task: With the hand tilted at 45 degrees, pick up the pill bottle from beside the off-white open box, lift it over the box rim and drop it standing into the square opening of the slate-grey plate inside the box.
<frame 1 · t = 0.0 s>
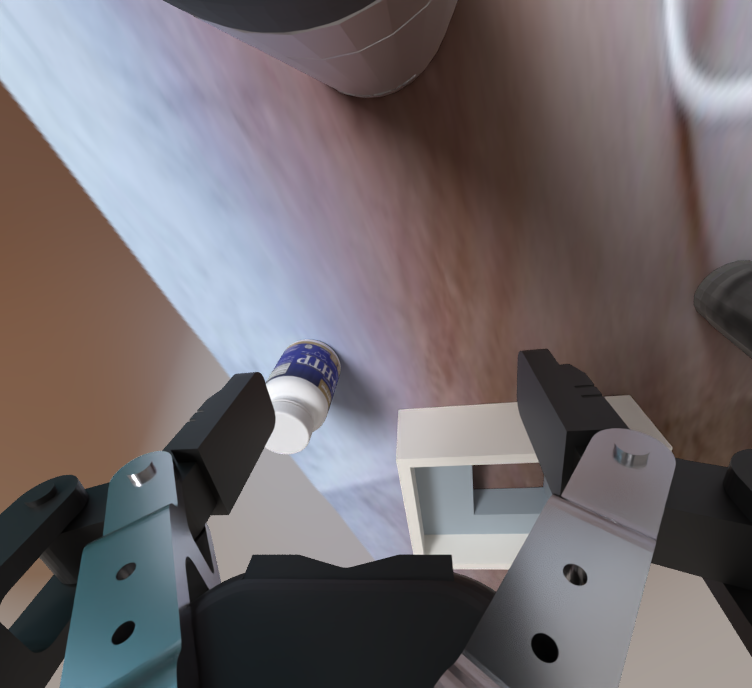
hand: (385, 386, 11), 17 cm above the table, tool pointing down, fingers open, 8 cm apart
bore box: (506, 464, 37), on the table
beverage cup: (727, 290, 26), on the table
pill bottle: (312, 361, 32), on the table
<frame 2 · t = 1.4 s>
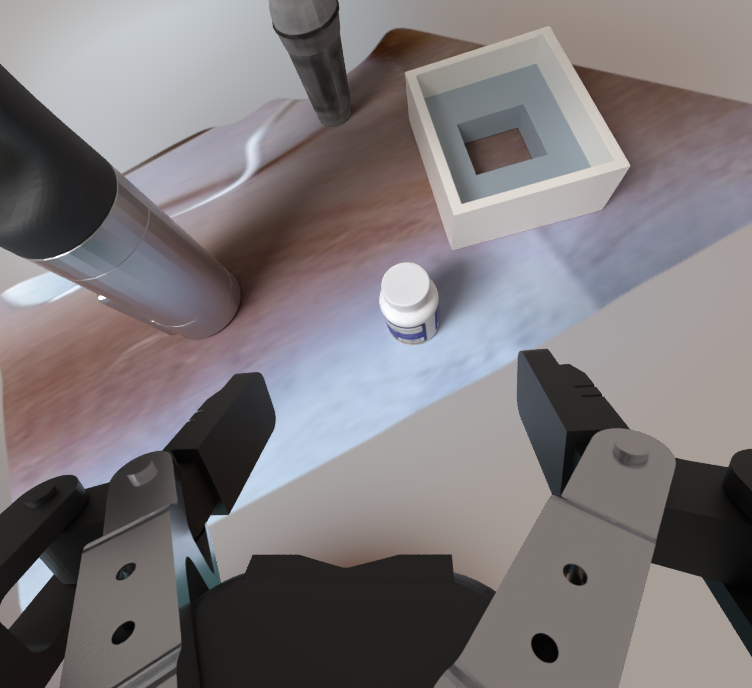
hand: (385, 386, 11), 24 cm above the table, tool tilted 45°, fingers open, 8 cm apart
bore box: (496, 160, 42), on the table
beverage cup: (335, 114, 49), on the table
pill bottle: (413, 323, 38), on the table
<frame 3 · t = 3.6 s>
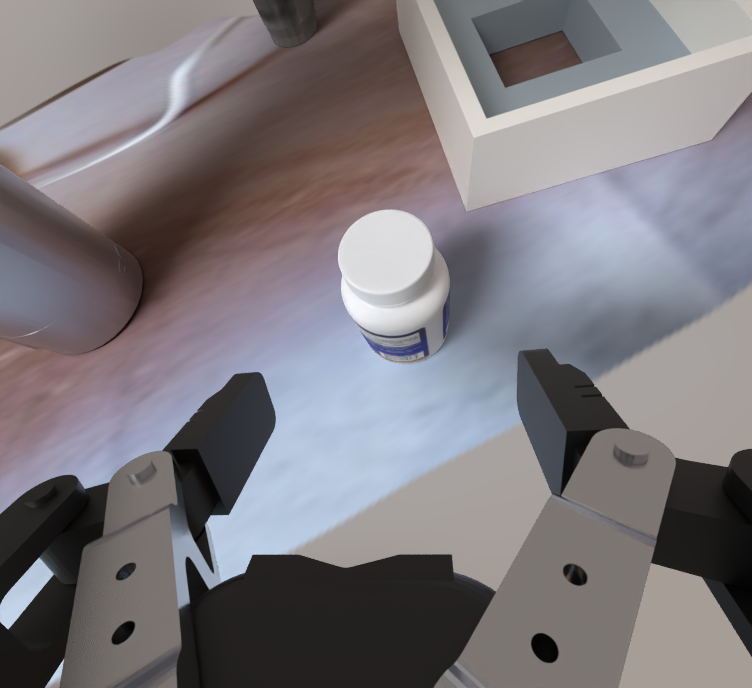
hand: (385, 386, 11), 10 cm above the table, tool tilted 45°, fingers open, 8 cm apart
bore box: (531, 77, 27), on the table
beverage cup: (295, 32, 34), on the table
pill bottle: (406, 327, 23), on the table
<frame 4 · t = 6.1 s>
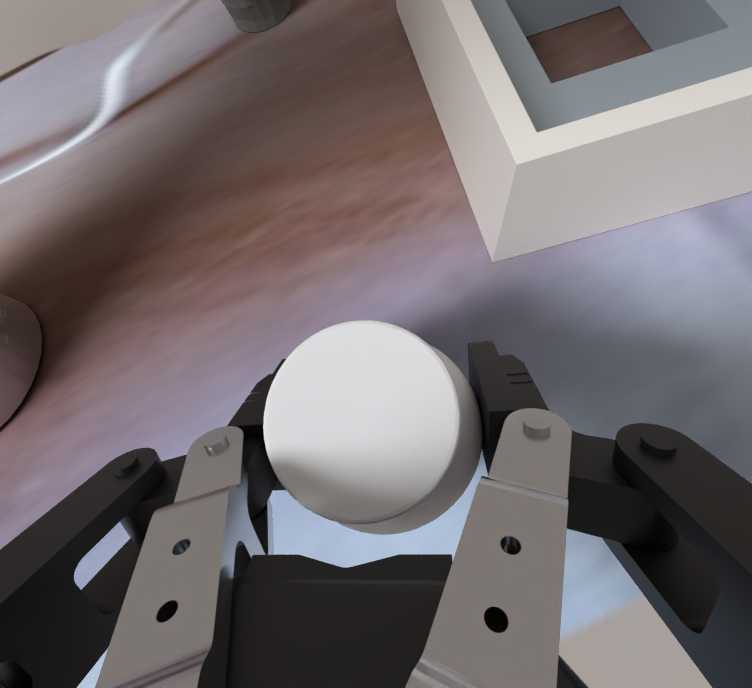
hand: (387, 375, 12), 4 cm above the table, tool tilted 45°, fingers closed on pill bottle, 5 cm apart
bore box: (579, 69, 20), on the table
beverage cup: (264, 14, 27), on the table
pill bottle: (404, 440, 15), on the table, touching gripper
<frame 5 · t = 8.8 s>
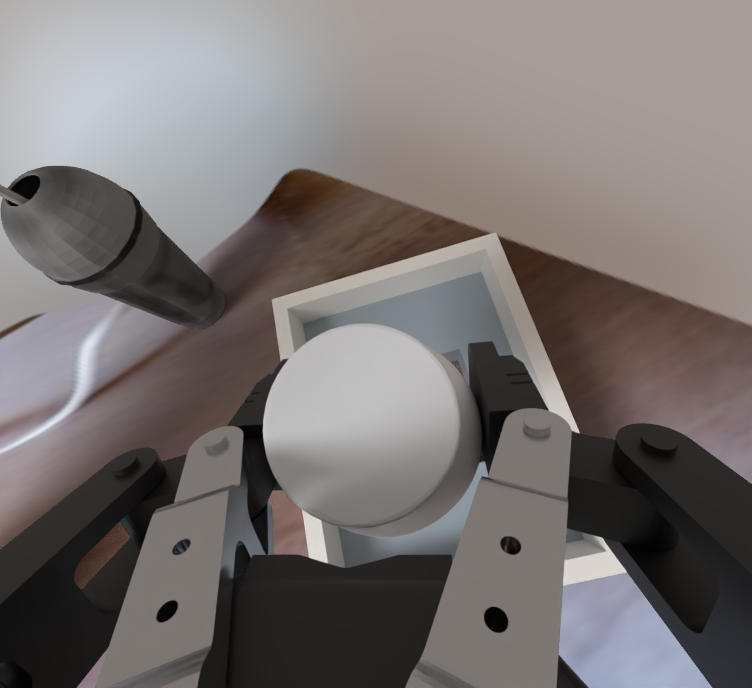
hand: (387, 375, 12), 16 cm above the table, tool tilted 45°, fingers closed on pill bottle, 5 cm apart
bore box: (424, 419, 27), on the table
beverage cup: (204, 307, 34), on the table
pill bottle: (404, 442, 15), point 12 cm above the table, touching gripper
when the fingers open (8 cm above the table, at t = 11.6 s): pill bottle drops 4 cm, resting in bore box.
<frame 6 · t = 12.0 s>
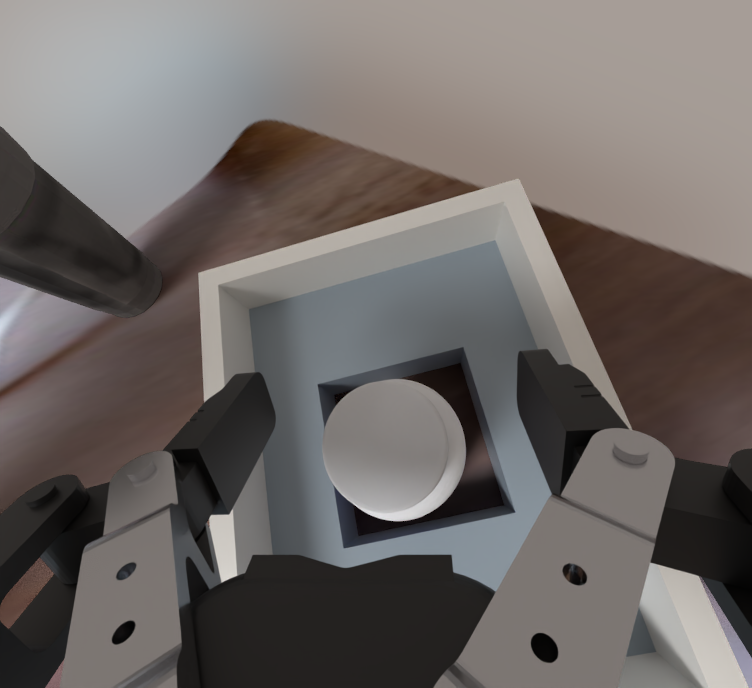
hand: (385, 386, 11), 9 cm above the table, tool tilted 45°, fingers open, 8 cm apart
bore box: (412, 445, 19), on the table
beverage cup: (136, 290, 26), on the table
pill bottle: (410, 450, 20), resting in bore box
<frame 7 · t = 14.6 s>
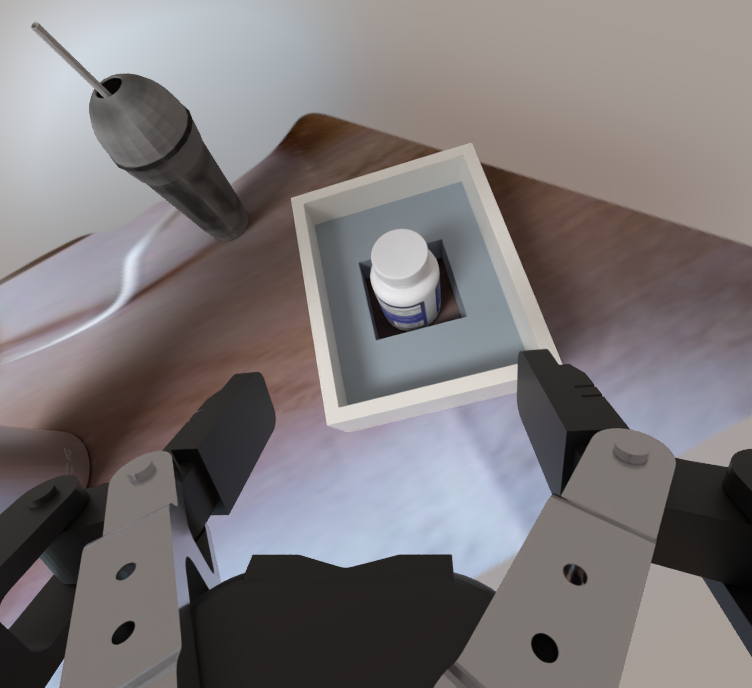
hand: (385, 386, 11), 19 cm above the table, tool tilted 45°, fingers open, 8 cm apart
bore box: (412, 303, 33), on the table
beverage cup: (230, 225, 40), on the table
pill bottle: (411, 306, 33), resting in bore box
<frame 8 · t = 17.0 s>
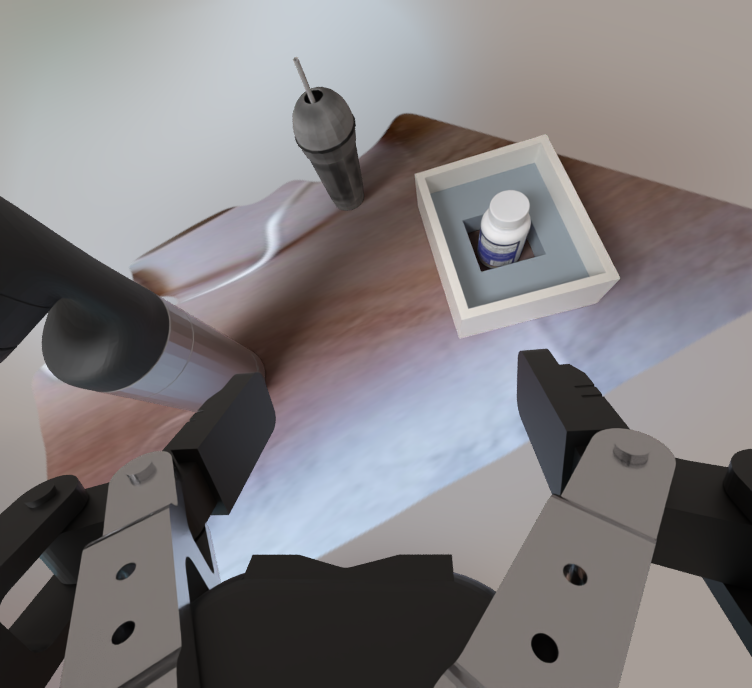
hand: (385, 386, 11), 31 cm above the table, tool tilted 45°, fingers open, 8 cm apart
bore box: (499, 250, 46), on the table
beverage cup: (349, 198, 53), on the table
pill bottle: (497, 253, 46), resting in bore box
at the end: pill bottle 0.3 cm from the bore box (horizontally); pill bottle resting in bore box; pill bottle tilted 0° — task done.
